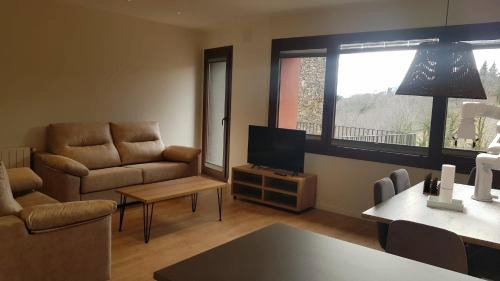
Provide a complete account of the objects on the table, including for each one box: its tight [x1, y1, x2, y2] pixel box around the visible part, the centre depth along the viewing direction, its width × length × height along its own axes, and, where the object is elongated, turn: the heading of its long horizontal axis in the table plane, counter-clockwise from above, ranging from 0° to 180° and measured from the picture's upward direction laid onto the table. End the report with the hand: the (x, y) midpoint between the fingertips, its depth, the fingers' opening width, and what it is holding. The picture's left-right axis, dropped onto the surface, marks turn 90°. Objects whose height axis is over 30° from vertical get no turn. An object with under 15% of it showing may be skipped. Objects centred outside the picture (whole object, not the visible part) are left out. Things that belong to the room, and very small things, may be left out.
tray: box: [426, 195, 465, 213], centre depth 236 cm, size 20×14×4 cm
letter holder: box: [422, 171, 441, 197], centre depth 272 cm, size 10×20×14 cm, turn 142°
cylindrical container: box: [438, 164, 456, 203], centre depth 235 cm, size 7×7×25 cm
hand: (464, 147), depth 244 cm, fingers open, 9 cm apart
